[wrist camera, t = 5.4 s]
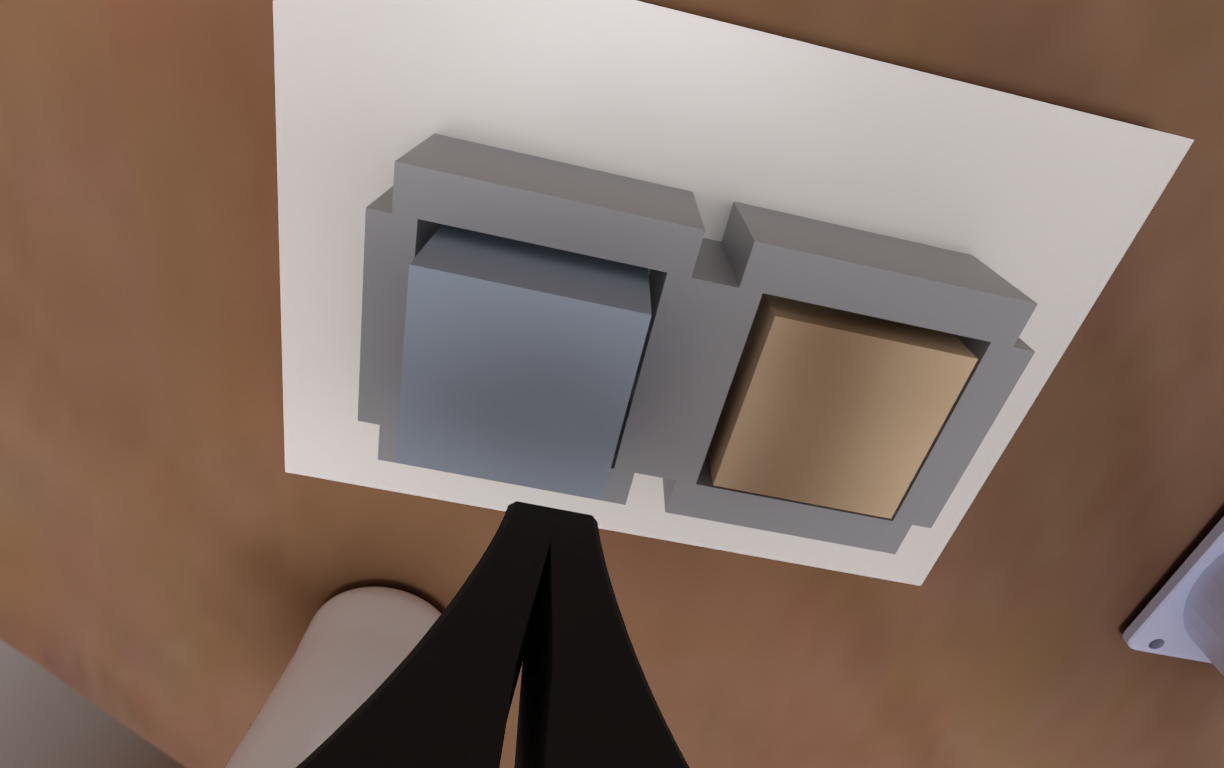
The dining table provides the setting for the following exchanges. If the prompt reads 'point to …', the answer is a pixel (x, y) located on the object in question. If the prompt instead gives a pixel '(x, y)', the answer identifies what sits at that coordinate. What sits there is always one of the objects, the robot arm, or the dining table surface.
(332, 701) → the drinking glass
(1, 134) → the dining table surface
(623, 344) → the key slate
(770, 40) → the key panel
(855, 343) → the key oak
